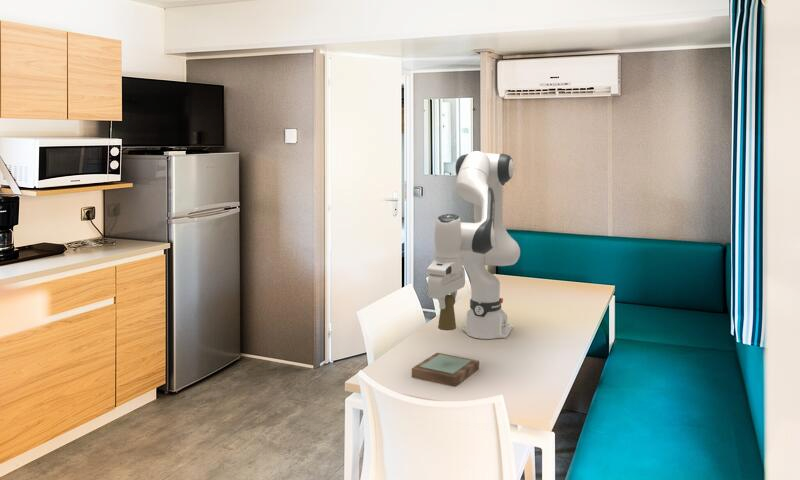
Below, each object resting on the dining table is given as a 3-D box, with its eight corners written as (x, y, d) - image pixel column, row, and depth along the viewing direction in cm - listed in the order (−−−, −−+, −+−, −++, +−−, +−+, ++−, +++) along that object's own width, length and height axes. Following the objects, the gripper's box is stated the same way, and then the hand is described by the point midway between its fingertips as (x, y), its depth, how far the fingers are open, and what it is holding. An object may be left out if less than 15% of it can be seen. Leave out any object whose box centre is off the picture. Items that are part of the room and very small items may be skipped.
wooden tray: (437, 360, 229) (437, 351, 228) (479, 369, 221) (479, 359, 220) (411, 376, 213) (411, 367, 213) (455, 386, 205) (455, 376, 205)
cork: (455, 324, 218) (455, 292, 216) (457, 330, 212) (457, 297, 210) (437, 325, 217) (437, 293, 216) (438, 330, 212) (439, 297, 210)
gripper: (453, 258, 221) (452, 297, 224) (424, 269, 204) (424, 312, 206) (470, 260, 218) (469, 300, 221) (442, 271, 201) (441, 315, 203)
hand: (447, 306), depth 213 cm, fingers closed on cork, 5 cm apart
